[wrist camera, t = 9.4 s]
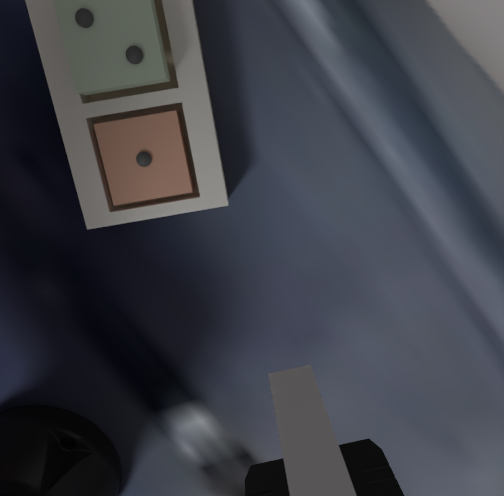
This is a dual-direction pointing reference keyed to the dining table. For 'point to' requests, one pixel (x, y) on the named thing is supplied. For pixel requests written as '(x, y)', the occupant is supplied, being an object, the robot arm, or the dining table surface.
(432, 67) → the dining table surface
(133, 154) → the tile one
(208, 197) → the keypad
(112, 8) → the tile two
